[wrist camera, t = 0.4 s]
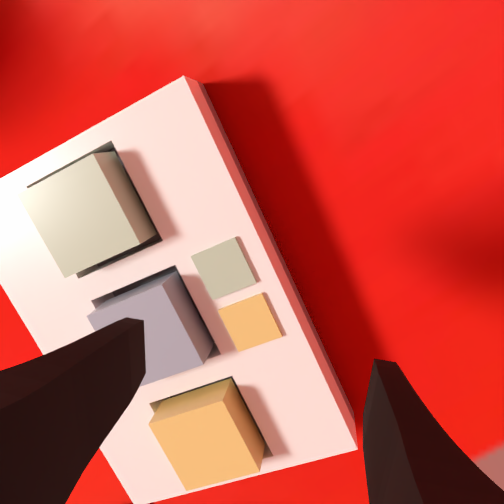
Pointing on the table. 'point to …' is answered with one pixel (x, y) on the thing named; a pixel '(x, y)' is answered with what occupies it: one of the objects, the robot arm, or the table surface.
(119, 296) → the key slate
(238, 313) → the keyguard panel
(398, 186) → the table surface
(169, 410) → the key ochre
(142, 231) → the key sage
